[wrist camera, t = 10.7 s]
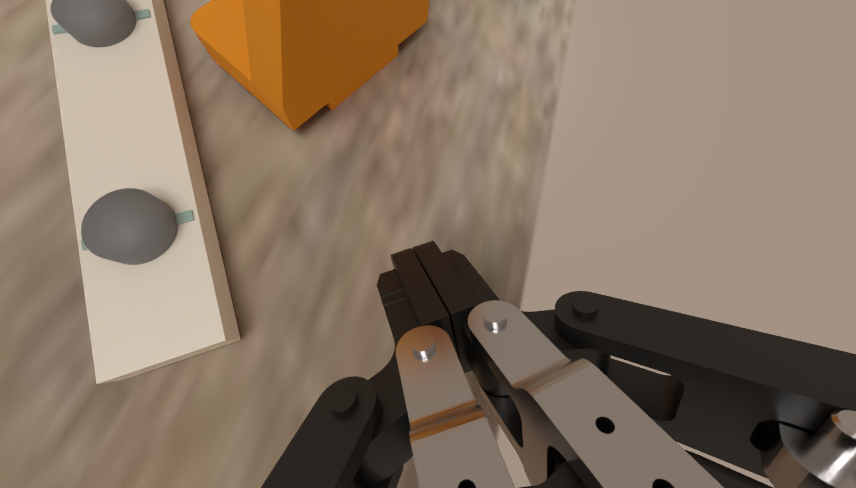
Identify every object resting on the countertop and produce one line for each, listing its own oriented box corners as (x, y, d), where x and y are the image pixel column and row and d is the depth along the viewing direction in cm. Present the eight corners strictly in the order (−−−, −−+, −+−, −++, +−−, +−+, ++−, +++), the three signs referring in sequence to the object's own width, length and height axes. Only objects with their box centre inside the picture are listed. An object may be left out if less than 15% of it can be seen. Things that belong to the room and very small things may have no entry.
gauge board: (124, 379, 15) (74, 387, 13) (63, -27, 20) (18, -76, 18) (240, 339, 16) (213, 340, 14) (154, -41, 21) (123, -89, 19)
